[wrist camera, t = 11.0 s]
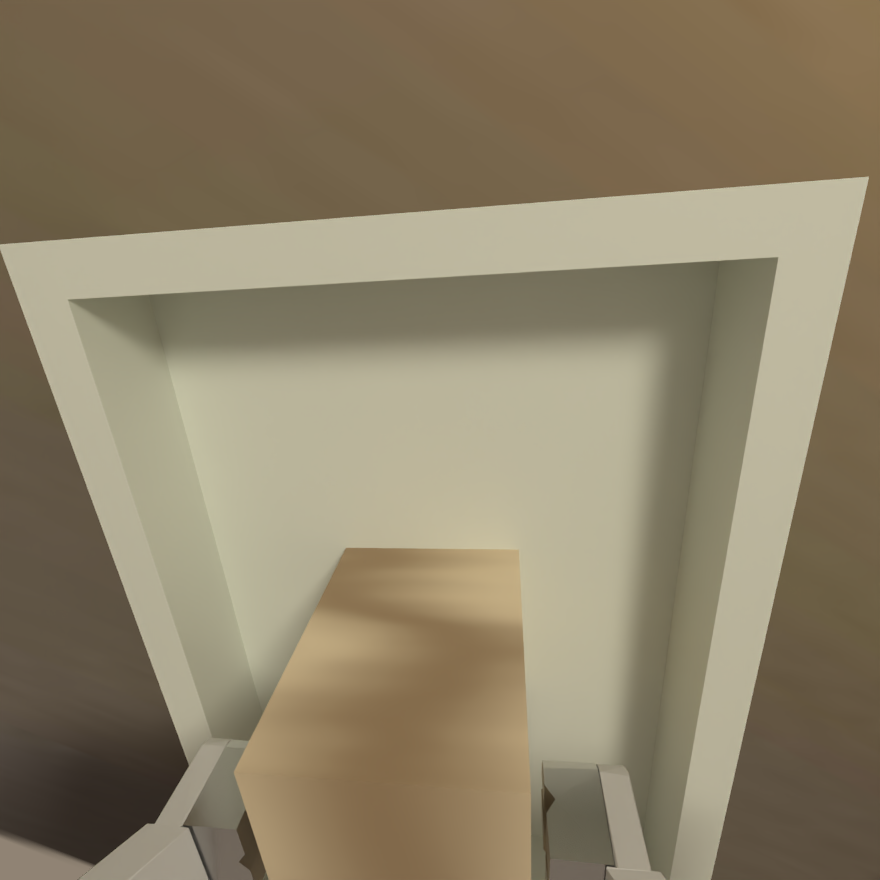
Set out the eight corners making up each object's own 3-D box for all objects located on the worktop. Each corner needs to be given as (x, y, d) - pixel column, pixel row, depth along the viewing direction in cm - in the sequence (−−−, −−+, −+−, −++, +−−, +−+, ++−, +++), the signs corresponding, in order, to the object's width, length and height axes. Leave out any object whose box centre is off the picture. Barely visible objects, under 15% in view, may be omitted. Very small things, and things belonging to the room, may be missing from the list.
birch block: (367, 675, 15) (287, 935, 9) (345, 547, 13) (233, 772, 8) (520, 682, 14) (530, 964, 9) (519, 548, 13) (530, 793, 7)
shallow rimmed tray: (277, 805, 19) (238, 901, 16) (118, 242, 12) (-2, 244, 9) (663, 839, 17) (693, 954, 14) (767, 192, 10) (868, 176, 7)
